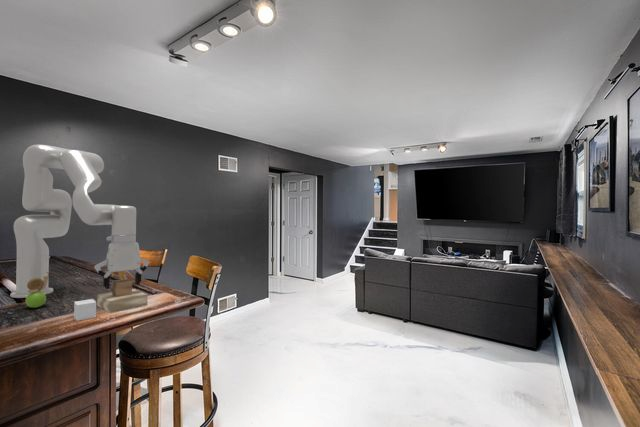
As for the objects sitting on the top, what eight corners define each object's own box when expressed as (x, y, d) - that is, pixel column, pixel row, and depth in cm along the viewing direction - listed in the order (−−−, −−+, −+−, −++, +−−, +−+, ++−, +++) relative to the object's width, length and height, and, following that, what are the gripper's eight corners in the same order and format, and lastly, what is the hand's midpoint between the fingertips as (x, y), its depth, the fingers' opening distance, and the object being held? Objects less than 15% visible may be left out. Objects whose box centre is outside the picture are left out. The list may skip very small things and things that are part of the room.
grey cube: (74, 316, 102) (74, 301, 102) (92, 313, 105) (93, 298, 105) (76, 321, 98) (77, 305, 98) (96, 317, 102) (96, 302, 102)
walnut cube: (112, 294, 115) (112, 280, 115) (127, 291, 118) (128, 278, 118) (116, 296, 111) (116, 282, 111) (131, 294, 115) (132, 280, 115)
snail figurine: (53, 305, 112) (53, 272, 112) (31, 310, 106) (32, 275, 106) (42, 303, 114) (43, 270, 114) (21, 308, 108) (22, 273, 108)
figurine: (136, 292, 132) (137, 264, 132) (128, 296, 126) (129, 266, 126) (116, 292, 132) (117, 263, 132) (107, 296, 126) (108, 266, 125)
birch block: (97, 307, 114) (97, 294, 113) (132, 299, 123) (133, 288, 123) (110, 314, 106) (110, 301, 106) (147, 306, 116) (147, 294, 116)
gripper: (97, 241, 106) (96, 292, 106) (152, 239, 118) (151, 284, 118) (92, 239, 111) (91, 287, 111) (146, 237, 123) (145, 281, 123)
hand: (122, 286), depth 115 cm, fingers open, 9 cm apart
